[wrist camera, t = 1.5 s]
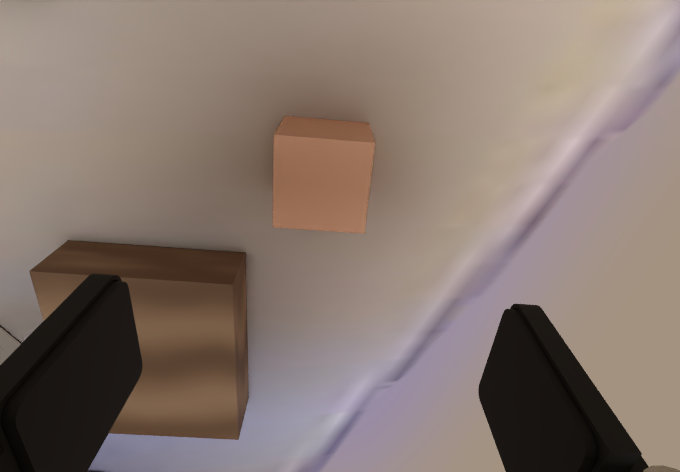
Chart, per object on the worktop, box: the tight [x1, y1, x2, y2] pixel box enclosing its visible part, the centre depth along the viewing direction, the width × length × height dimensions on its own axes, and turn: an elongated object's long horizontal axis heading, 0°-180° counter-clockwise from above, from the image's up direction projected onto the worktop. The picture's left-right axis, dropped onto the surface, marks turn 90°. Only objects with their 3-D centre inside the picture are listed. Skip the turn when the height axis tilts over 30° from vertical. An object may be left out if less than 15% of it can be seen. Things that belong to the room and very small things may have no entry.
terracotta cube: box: [273, 116, 375, 233], centre depth 24 cm, size 5×5×5 cm
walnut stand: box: [29, 240, 249, 440], centre depth 30 cm, size 14×12×4 cm
